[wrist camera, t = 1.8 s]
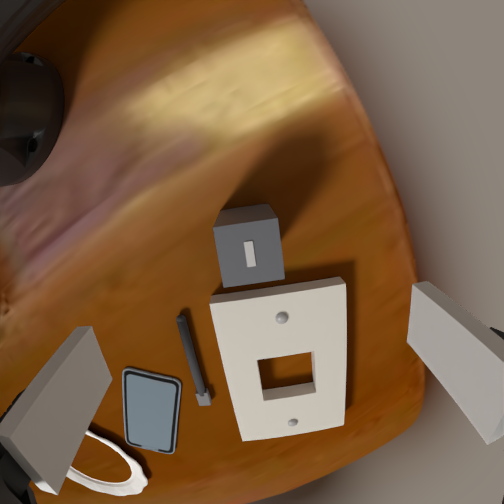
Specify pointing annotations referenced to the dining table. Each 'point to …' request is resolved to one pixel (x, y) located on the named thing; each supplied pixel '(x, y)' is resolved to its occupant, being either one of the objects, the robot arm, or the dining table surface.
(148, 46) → the dining table surface
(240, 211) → the block
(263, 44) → the dining table surface
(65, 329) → the dining table surface
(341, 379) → the outlet plate
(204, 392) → the cable
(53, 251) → the dining table surface
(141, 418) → the smartphone
